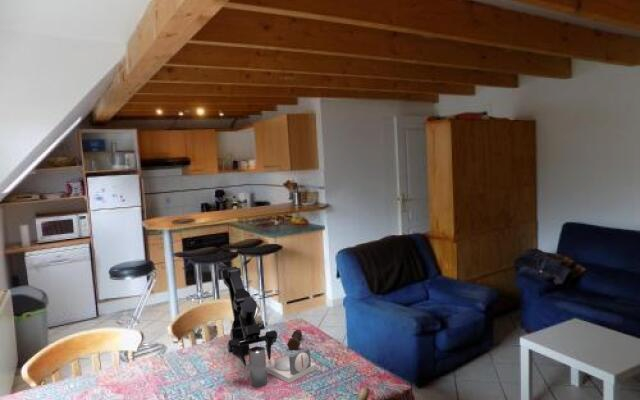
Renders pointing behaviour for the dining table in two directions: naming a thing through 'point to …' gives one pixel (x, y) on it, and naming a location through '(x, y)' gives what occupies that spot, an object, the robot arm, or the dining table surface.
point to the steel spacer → (258, 367)
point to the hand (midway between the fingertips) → (257, 362)
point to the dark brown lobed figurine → (295, 340)
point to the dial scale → (292, 366)
